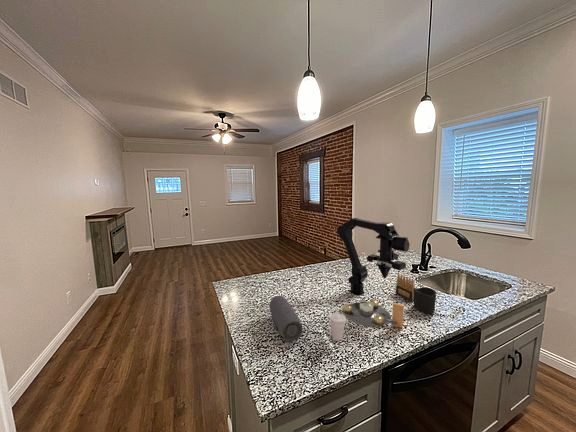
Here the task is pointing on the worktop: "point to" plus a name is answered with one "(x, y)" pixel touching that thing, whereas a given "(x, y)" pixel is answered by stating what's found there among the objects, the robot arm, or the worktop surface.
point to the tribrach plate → (366, 319)
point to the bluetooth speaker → (285, 319)
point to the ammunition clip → (405, 287)
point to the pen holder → (424, 300)
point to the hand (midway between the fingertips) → (384, 278)
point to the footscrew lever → (396, 319)
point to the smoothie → (337, 325)
